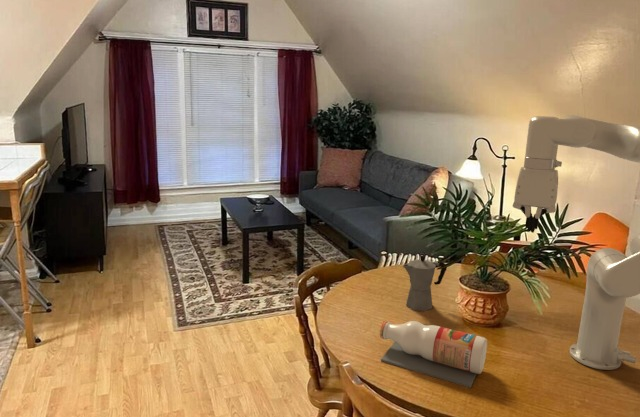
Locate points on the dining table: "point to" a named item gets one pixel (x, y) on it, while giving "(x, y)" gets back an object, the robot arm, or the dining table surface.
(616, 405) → the dining table surface
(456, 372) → the mat
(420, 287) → the coffeepot
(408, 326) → the fruit juice
